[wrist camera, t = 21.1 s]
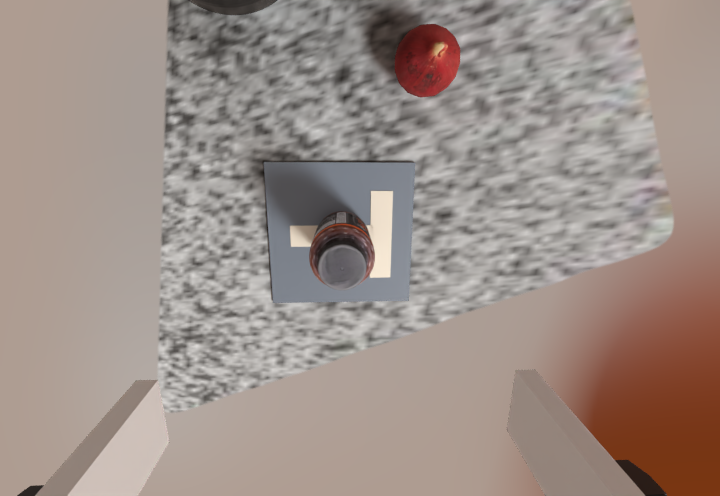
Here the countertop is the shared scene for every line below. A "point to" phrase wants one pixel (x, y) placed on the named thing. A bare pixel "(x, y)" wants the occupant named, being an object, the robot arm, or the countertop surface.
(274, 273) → the letter card
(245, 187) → the countertop surface
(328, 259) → the supplement bottle
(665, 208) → the countertop surface
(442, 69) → the onion
